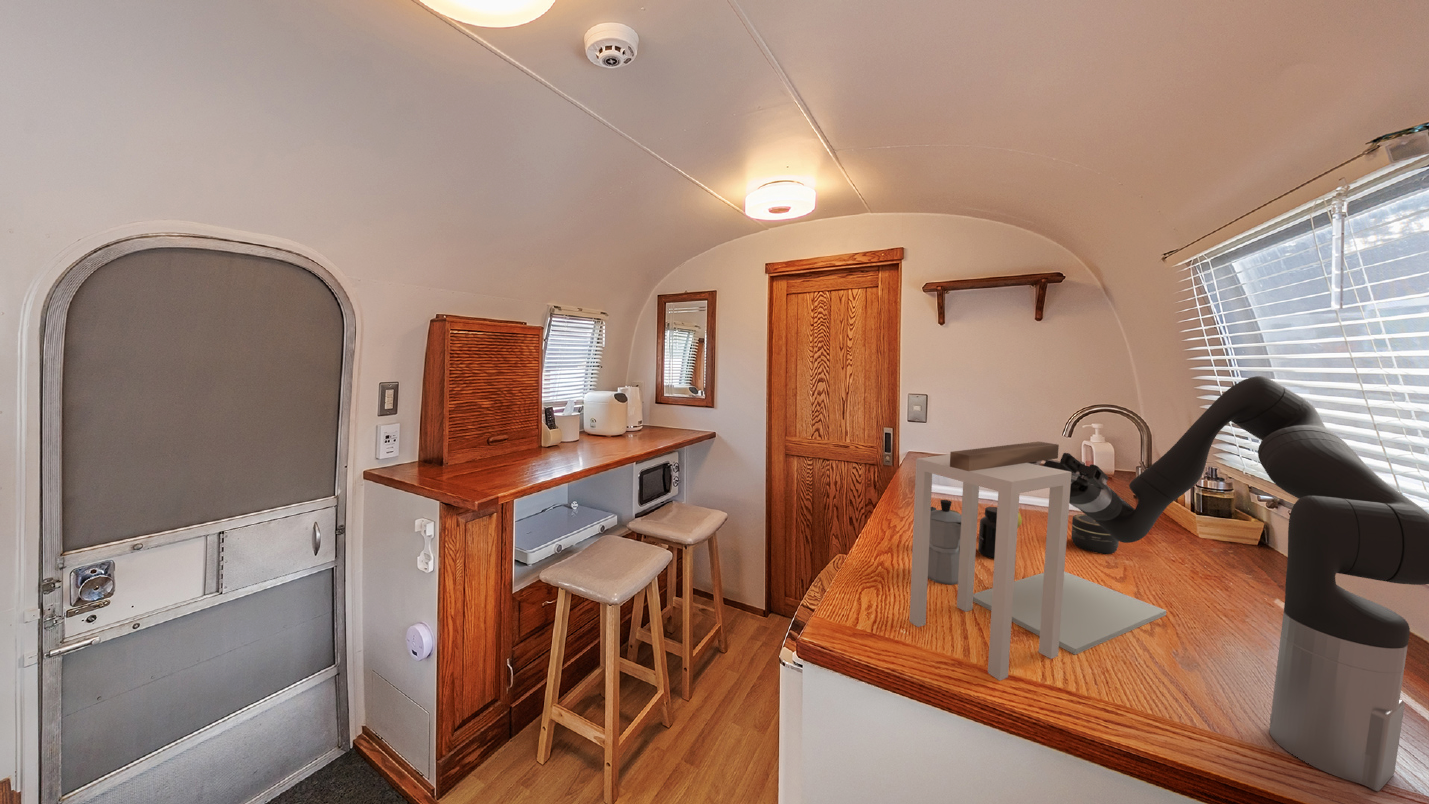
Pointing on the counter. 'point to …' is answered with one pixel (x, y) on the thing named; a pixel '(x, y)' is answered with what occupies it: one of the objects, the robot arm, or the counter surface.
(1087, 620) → the grey-green mat
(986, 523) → the supplement bottle
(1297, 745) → the robot arm
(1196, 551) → the counter surface
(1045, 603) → the grey table
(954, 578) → the coffee maker
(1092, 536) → the jar
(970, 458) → the walnut bar
